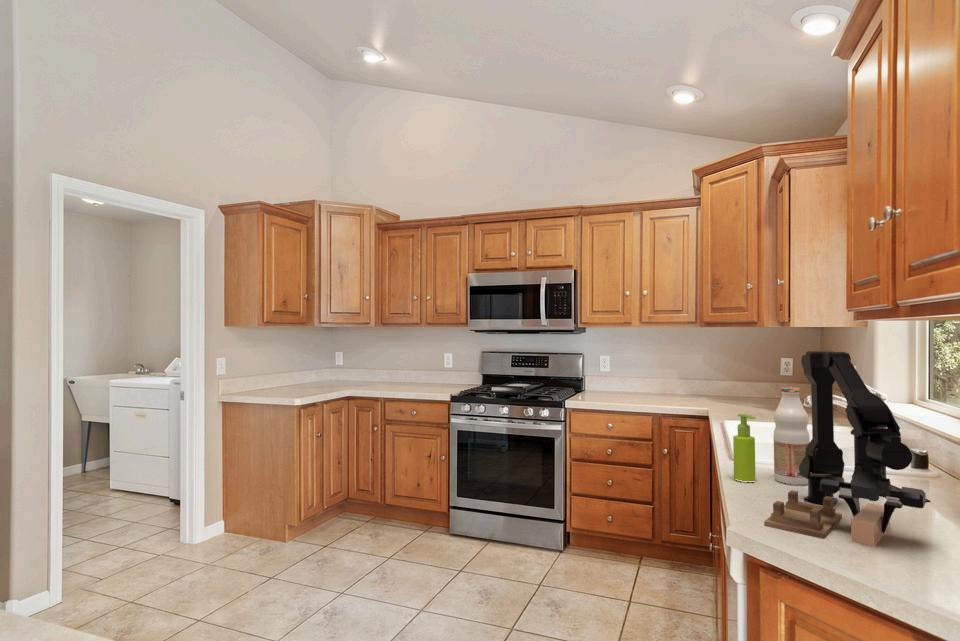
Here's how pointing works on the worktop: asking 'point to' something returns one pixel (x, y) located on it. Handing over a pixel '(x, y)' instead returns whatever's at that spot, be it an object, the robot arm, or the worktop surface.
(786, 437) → the fruit juice
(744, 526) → the worktop surface
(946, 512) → the worktop surface
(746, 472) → the soap dispenser
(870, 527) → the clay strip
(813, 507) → the drying rack
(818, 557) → the worktop surface
